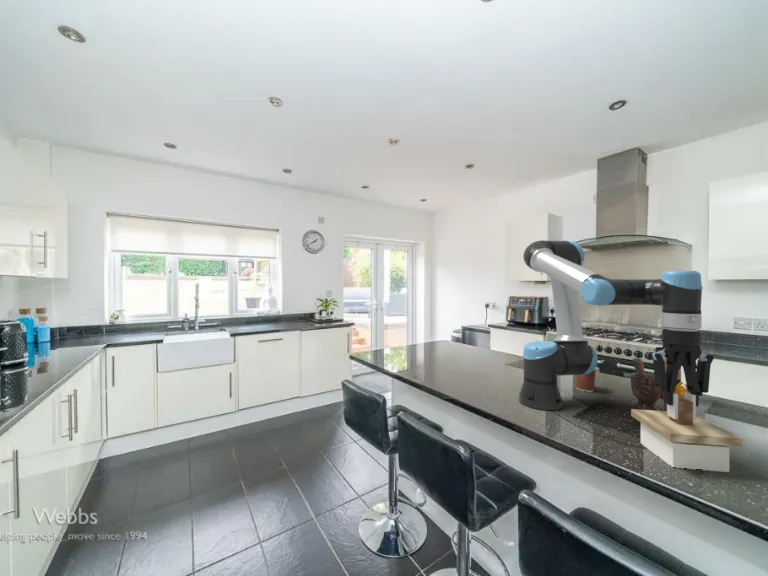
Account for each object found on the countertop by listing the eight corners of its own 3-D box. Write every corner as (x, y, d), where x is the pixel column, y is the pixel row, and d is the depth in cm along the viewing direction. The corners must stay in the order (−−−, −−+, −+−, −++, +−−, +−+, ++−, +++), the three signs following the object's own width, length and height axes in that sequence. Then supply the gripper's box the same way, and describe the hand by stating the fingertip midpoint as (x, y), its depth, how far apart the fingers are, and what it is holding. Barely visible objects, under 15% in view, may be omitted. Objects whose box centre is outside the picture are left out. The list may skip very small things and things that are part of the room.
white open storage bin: (672, 467, 76) (672, 443, 76) (640, 443, 87) (640, 422, 87) (729, 472, 74) (729, 447, 74) (688, 446, 85) (688, 425, 85)
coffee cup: (570, 389, 134) (570, 362, 134) (576, 384, 140) (576, 358, 140) (594, 394, 127) (594, 366, 127) (600, 389, 133) (600, 362, 133)
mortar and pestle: (662, 421, 101) (662, 362, 101) (629, 414, 107) (629, 358, 107) (661, 411, 110) (661, 356, 110) (631, 405, 116) (631, 352, 116)
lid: (670, 441, 74) (670, 409, 74) (631, 415, 89) (631, 388, 89) (742, 446, 72) (742, 413, 72) (689, 419, 87) (690, 391, 87)
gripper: (656, 330, 78) (656, 421, 78) (731, 331, 76) (730, 426, 76) (637, 326, 86) (637, 410, 86) (704, 327, 83) (704, 413, 83)
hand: (681, 417), depth 81 cm, fingers open, 3 cm apart
